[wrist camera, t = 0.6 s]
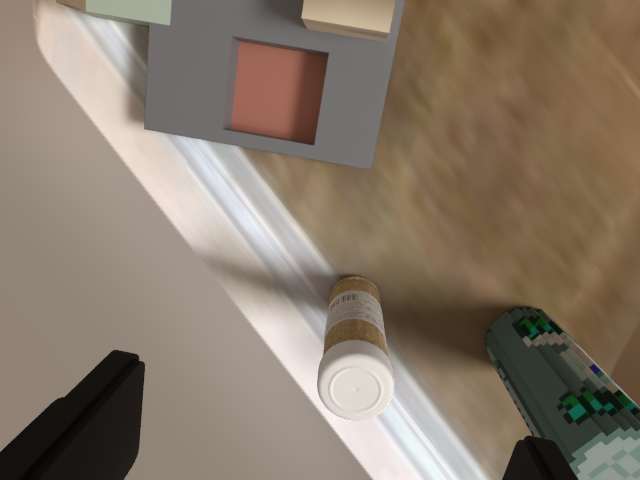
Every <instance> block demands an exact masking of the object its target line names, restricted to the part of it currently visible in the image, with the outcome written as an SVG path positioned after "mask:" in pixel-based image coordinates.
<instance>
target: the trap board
mask: <svg viewBox="0 0 640 480" xmlns="http://www.w3.org/2000/svg"><path fill="white" fill-rule="evenodd" d="M56 2H57V3H60V4H62V5H65V6H68V7H70V8H73V9H75V10H78V11H81V12H83V13H86V14H88V15H91V16H93V17H97V18H103V19H109V20H115V21H120V22H126V23H132V24H138V25H144V26H149V43H148V63H147V83H146V103H145V123H144V129H146V130H152V131H157V132H163V133H169V134H174V135H180V136H185V137H191V138H197V139H202V140H208V141H213V142H219V143H225V144H230V145H236V146H242V147H247V148H253V149H258V150H264V151H270V152H275V153H281V154H287V155H292V156H298V157H303V158H309V159H315V160H320V161H326V162H331V163H337V164H343V165H348V166H354V167H360V168H365V169H371V167H372V162H373V157H374V152H375V147H376V142H377V137H378V132H379V127H380V122H381V117H382V112H383V107H384V102H385V97H386V92H387V87H388V82H389V77H390V72H391V67H392V62H393V57H394V52H395V47H396V42H397V37H398V32H399V27H400V22H401V17H402V12H403V7H404V2H405V0H395V6H394V11H393V16H392V21H391V26H390V31H389V35H388V37H387V40H386V42H380V41H374V40H368V39H362V38H356V37H350V36H344V35H339V34H333V33H327V32H321V31H315V30H309V29H307V28H306V26H305V24H304V22H303V20H302V18H301V17H302V10H303V3H304V0H56Z"/></svg>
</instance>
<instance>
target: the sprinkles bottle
mask: <svg viewBox="0 0 640 480" xmlns="http://www.w3.org/2000/svg"><path fill="white" fill-rule="evenodd" d="M380 303H381V297H380V293H379V290H378V288H377V287H376V286H375V284H374V283H373V282H371V281H370V280H369V279H366V278H364V277H360V276H349V277H346V278H343V279H341V280H340V281H339V282H337V283H336V284H335V285H334V287H333V289H332V290H331V292H330V296H329V304H330V306H329V309H328V316H327V323H326V330H325V339H324V340H325V344H324V354H323V358H322V360H321V362H320V365H319V371H318V381H317V388H318V393H319V396H320V399H321V401H322V402H323V404H324V405H325V406H326V408H327V409H328V410H330V411H331V412H332V413H334V414H335V415H337V416H339V417H342V418H344V419H349V420H365V419H369V418H372V417H374V416H376V415H378V414H380V413H381V412H382V411H383V410H384V409H385V408H386V407H387V406H388V405H389V403H390V402H391V400H392V397H393V394H394V377H393V370H392V365H391V362H390V360H389V358H388V356H387V344H386V337H385V330H384V322H383V315H382V310H381V306H380Z"/></svg>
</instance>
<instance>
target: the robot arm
mask: <svg viewBox="0 0 640 480" xmlns="http://www.w3.org/2000/svg"><path fill="white" fill-rule="evenodd" d="M144 372H145V364H144V362H142V361H139V356H138V355H137V354H133V353H129V352H124V351H119V350H113V351H112V352H111V353H110V354H109V355H108V356H107V357H106V358H104V359H103V360H102V361H101V362H100V363H99V364H98V365H97V366H96V367H95V368H94V369H93V370H92V371H91V372H90V373H89V374H88V375H87V376H86V377H85V378H84V379H83V380H82V381H81V382H80V383H79V384H78V385H77V386H76V387H75V388H74V389H72V390H71V391H70V392H69V393H68V394H67V395H66V396H65V397H62V398H58V399H57V400H55V401H54V402H53V403H51V404H50V405H49V406H48V407H47V408H46V409H45V410H44V411H43V412H42V413H41V414H40V415H39V416H38V417H37V418H36V419H35V420H34V421H32V422H31V423H30V424H29V426H27V427H26V428H25V429H24V430H23V431H22V432H21V433H20V434H19V435H18V436H17V437H16V438H15V439H13V440H12V441H11V442H10V443H9V444H8V445H7V446H6V447H5V448H4V449H3V450H2V451H1V452H0V480H124V478H125V477H126V475H127V474H128V472H129V470H130V469H131V467H132V466H133V464H134V462H135V459H136V457H137V454H138V450H139V440H140V428H141V414H142V400H143V386H144ZM502 480H578V478H577V477H576V475H575V473H574V472H573V470H572V469H571V467H570V465H569V464H568V462H567V460H566V459H565V457H564V455H563V454H562V452H561V450H560V449H559V447H558V446H557V444H556V443H555V442H554V441H552V440H549V439H544V438H539V437H534V436H526V437H525V438H524V440H519V441H518V442H517V443H516V445H515V448H514V450H513V453H512V456H511V458H510V461H509V463H508V466H507V469H506V471H505V474H504V476H503V479H502Z"/></svg>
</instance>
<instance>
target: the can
mask: <svg viewBox="0 0 640 480" xmlns="http://www.w3.org/2000/svg"><path fill="white" fill-rule="evenodd" d="M489 327H490V329H491V331H489V332H488V333H487V334H486V335H485V336H486V337H487V340H486V341H485V342H486V344H487V346H485V348H486V350H487V352H488V353H489V355H488V356H489V358H490V360H491V362H492V364H493V365H494V367H495V369H496V371H497V373H498V374H499V376H500V378H501V380H502V381H503V383H504V385H505V387H506V389H507V390H508V392H509V394H510V396H511V398H512V399H513V401H514V403H515V405H516V407H517V408H518V410H519V412H520V414H521V416H522V417H523V419H524V421H525V423H526V424H527V426H528V428H529V430H530V432H531V433H532V435H533V436H534V437H539V438H544V439H549V440H552V441H554V442H555V443H556V444H557V446H558V447H559V449H560V450H561V452H562V454H563V455H564V457H565V459H566V460H567V462H568V464H569V465H570V467H571V469H572V470H573V472H574V473H575V475H576V477H577V478H578V480H640V407H639V406H638V405H637V404H636V403H635V402H634V401H633V400H632V399H631V398H630V397H629V396H628V395H627V394H626V393H625V392H624V391H623V390H622V389H621V388H620V387H619V386H618V385H617V384H616V383H615V382H614V381H613V380H612V379H611V378H610V377H609V376H608V375H607V374H606V373H605V372H604V371H603V370H602V369H601V368H600V367H599V366H598V365H597V364H596V363H595V361H594V360H593V359H592V358H591V357H590V356H589V355H588V354H587V353H586V352H585V351H584V350H583V349H582V348H581V347H580V346H579V345H578V344H577V343H576V342H575V341H574V340H573V339H572V338H571V337H570V336H569V335H568V334H567V333H566V332H565V331H564V330H563V329H562V328H561V327H560V326H559V325H558V324H557V323H556V322H555V321H554V320H553V319H552V318H550V317H549V316H548V315H547V314H546V313H545V312H544V311H543V310H540V311H539V312H536V311H535V310H534V309H533V308H532V307H530V308H529V309H528V310H527V309H526V308H525V307H523V308H522V309H521V310H520V309H519V308H515V309H514V310H513V311H512V312H511V313H509V312H508V311H505V312H504V313H503V314H502V315H501V316H500V317H499V318H498V319H496V320H495V321H494V322H493V323H492V324H491V325H490V326H489Z"/></svg>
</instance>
